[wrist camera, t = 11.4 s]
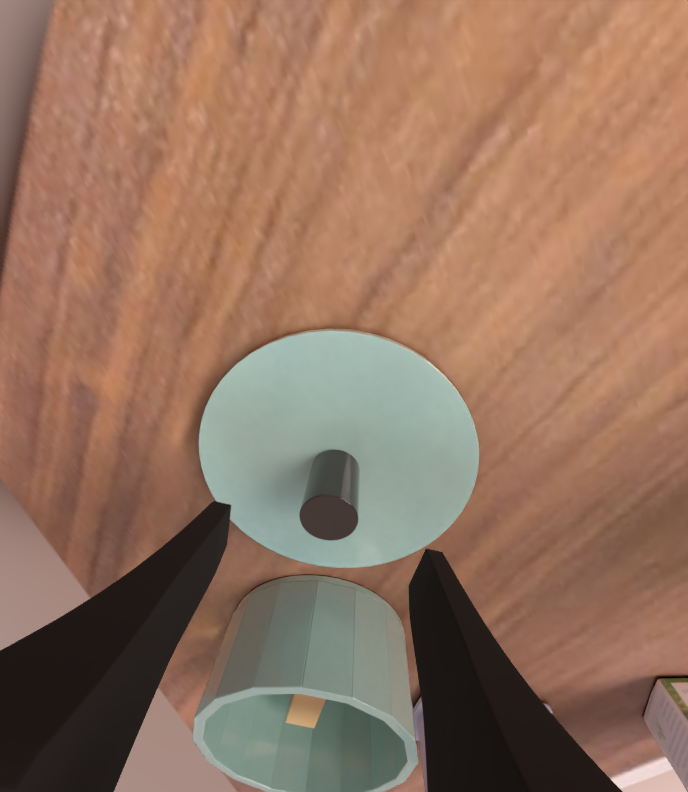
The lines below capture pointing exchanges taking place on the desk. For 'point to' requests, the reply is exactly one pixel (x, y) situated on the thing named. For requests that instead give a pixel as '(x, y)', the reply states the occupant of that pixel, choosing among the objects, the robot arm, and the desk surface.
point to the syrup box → (670, 722)
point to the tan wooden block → (304, 710)
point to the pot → (311, 690)
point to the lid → (339, 448)
